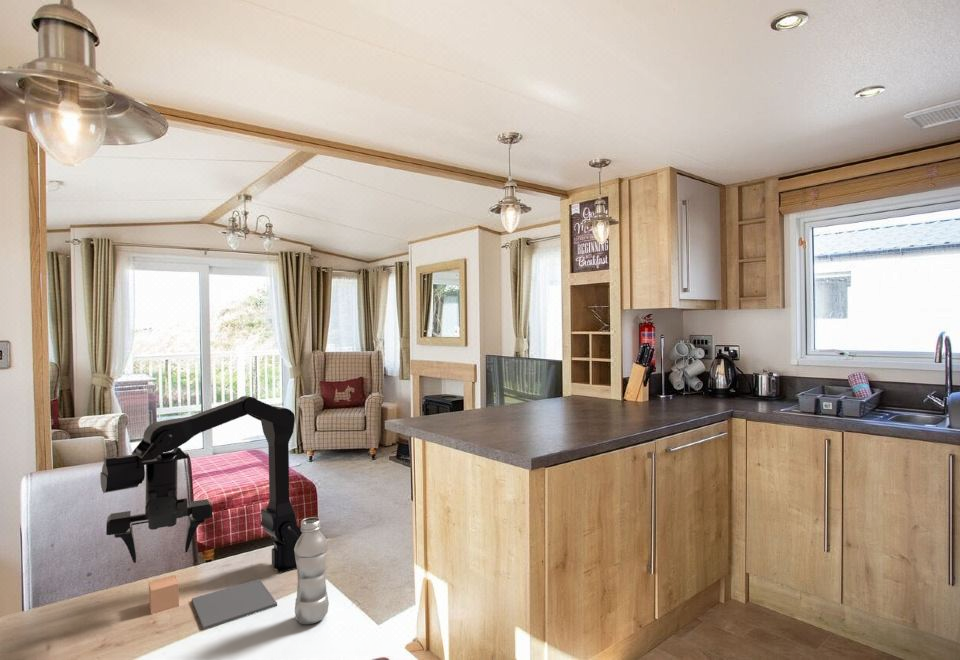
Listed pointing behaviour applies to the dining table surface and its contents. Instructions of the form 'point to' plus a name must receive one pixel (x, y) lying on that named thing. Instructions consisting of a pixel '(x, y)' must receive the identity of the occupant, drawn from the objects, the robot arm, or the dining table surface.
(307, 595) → the plastic bottle
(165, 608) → the peach block
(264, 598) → the charcoal mat
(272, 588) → the dining table surface
